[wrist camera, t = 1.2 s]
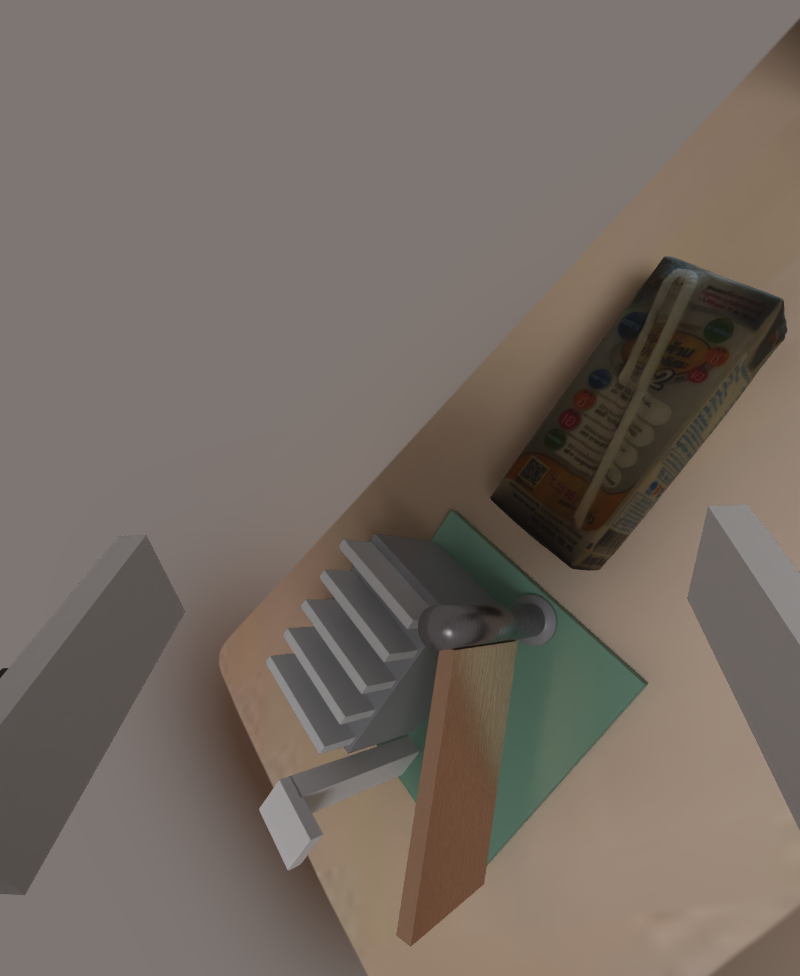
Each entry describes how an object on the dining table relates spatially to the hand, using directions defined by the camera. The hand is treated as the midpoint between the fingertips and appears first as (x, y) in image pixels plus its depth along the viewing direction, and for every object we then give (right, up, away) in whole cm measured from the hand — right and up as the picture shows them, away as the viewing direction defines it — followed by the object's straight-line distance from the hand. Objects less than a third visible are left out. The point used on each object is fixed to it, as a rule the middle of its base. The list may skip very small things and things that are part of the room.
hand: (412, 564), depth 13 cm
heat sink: (+5, -14, +29) cm, 33 cm away
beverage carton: (+17, +6, +24) cm, 30 cm away
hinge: (+8, -15, +25) cm, 30 cm away
